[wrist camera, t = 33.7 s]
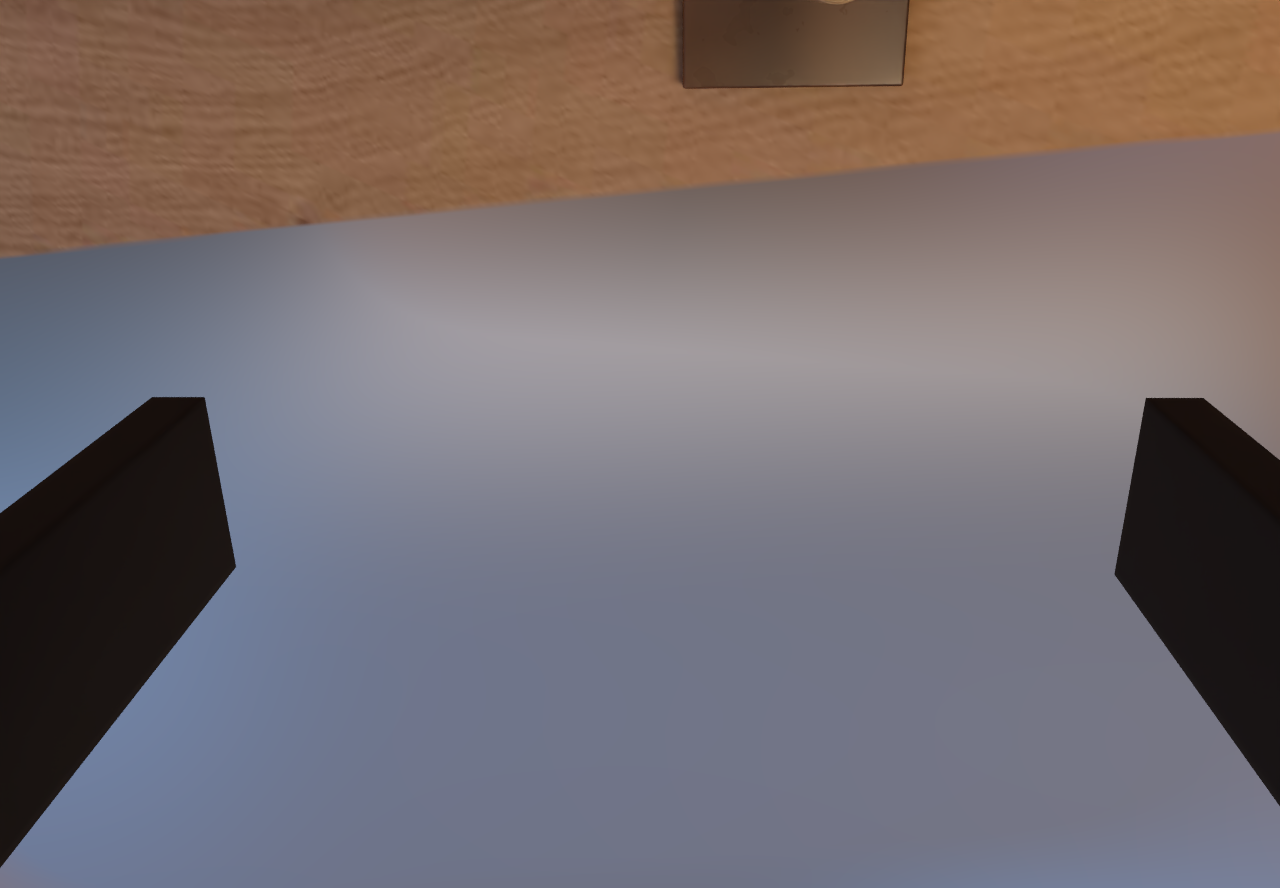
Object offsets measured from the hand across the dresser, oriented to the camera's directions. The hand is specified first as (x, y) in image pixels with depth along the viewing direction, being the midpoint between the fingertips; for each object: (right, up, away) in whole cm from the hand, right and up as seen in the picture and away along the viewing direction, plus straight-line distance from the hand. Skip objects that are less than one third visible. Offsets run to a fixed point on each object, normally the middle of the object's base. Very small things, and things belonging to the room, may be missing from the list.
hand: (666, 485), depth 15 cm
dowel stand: (+5, +18, +23) cm, 30 cm away
